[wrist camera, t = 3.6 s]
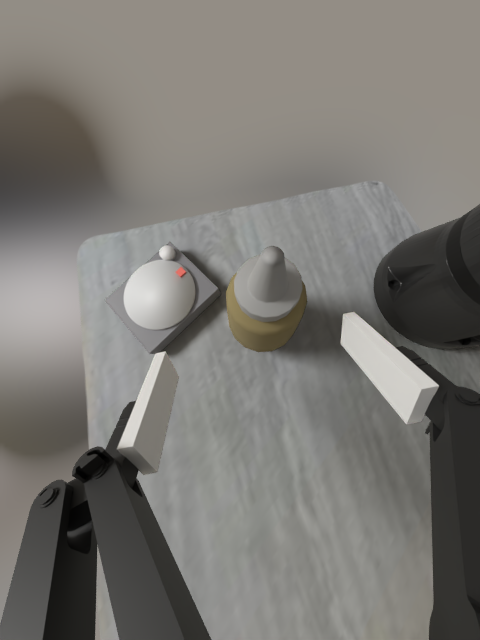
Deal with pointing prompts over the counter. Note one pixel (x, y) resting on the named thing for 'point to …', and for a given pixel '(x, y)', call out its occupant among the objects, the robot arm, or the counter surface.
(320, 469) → the counter surface
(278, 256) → the squeeze bottle
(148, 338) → the white dome on base
